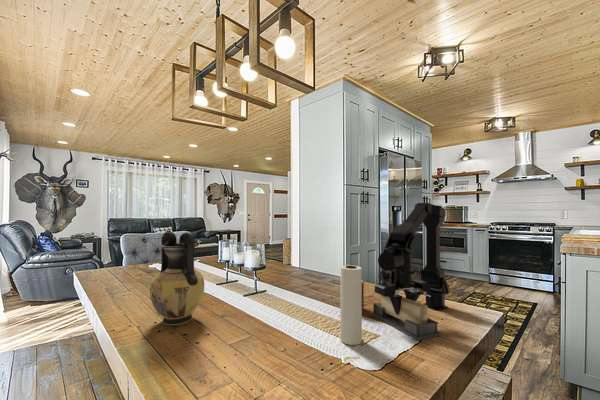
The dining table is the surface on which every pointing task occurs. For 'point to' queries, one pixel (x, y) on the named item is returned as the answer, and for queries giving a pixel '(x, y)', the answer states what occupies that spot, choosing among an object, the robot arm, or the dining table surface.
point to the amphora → (177, 280)
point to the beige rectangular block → (407, 310)
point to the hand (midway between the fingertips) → (402, 313)
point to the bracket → (407, 324)
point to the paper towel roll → (351, 304)
